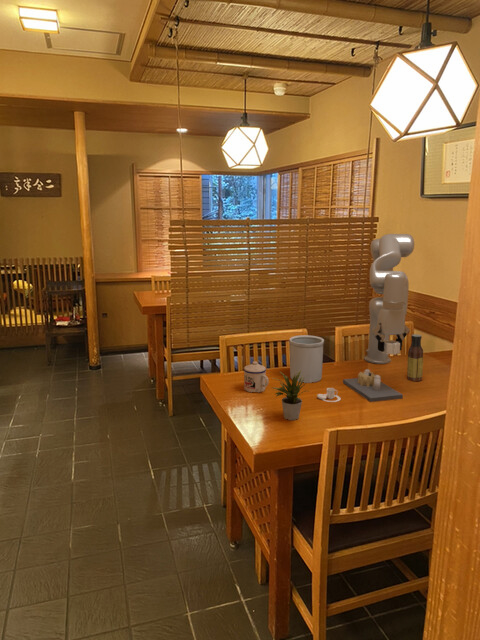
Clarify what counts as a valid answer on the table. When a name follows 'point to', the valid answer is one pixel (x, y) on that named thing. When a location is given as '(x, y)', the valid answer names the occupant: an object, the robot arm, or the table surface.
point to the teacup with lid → (255, 378)
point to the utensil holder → (306, 357)
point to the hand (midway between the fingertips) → (389, 349)
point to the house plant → (291, 397)
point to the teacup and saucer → (329, 395)
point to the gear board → (372, 387)
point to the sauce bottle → (415, 359)
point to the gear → (391, 347)
